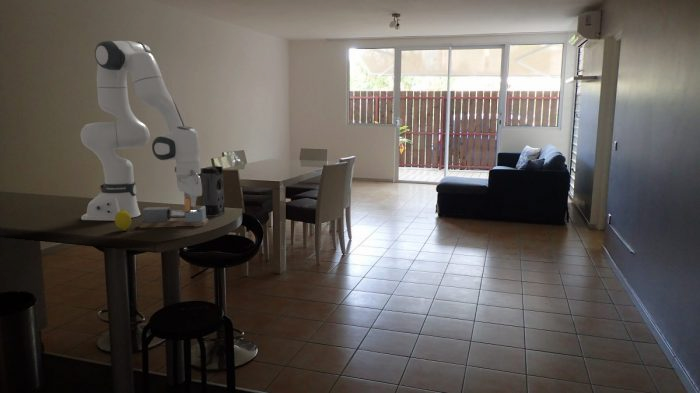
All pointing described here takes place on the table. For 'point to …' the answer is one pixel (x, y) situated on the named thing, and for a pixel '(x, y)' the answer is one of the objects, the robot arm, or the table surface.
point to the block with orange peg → (181, 212)
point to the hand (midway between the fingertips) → (190, 204)
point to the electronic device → (213, 190)
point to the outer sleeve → (155, 214)
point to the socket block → (196, 215)
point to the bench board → (173, 223)
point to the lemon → (123, 220)
